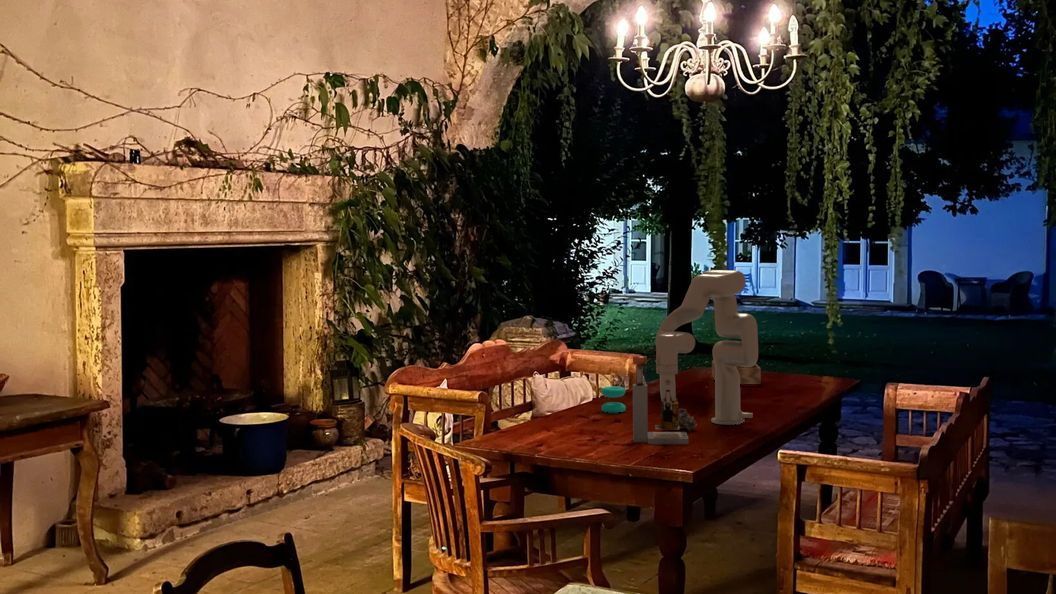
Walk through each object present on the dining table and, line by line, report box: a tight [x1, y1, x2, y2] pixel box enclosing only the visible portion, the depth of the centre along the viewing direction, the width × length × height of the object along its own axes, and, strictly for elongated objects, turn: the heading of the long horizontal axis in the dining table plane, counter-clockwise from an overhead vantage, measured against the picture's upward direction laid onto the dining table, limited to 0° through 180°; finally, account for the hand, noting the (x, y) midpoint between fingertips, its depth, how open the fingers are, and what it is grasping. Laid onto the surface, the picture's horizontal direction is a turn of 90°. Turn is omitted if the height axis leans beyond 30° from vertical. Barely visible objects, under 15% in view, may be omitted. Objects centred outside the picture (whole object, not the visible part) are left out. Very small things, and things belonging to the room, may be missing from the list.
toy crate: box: [711, 360, 762, 384], centre depth 508 cm, size 20×29×9 cm
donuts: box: [600, 385, 627, 414], centre depth 432 cm, size 10×10×10 cm
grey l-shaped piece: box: [632, 383, 690, 445], centre depth 371 cm, size 19×12×20 cm, turn 85°
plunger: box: [632, 355, 648, 386], centre depth 370 cm, size 5×5×13 cm
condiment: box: [654, 393, 681, 431], centre depth 371 cm, size 7×8×12 cm
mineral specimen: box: [659, 407, 698, 432], centre depth 391 cm, size 12×9×10 cm
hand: (667, 419), depth 371 cm, fingers closed on condiment, 6 cm apart
